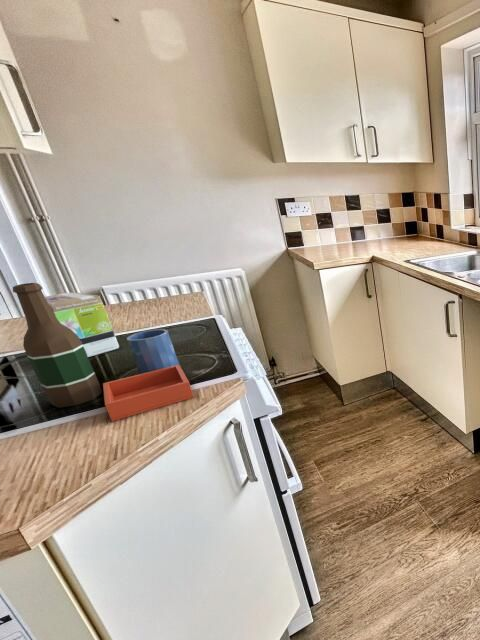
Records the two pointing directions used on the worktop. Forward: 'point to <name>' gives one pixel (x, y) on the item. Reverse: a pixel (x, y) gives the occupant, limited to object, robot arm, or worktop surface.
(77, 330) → the tea box
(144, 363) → the blue cup
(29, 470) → the worktop surface
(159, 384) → the red tray
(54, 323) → the beer bottle
